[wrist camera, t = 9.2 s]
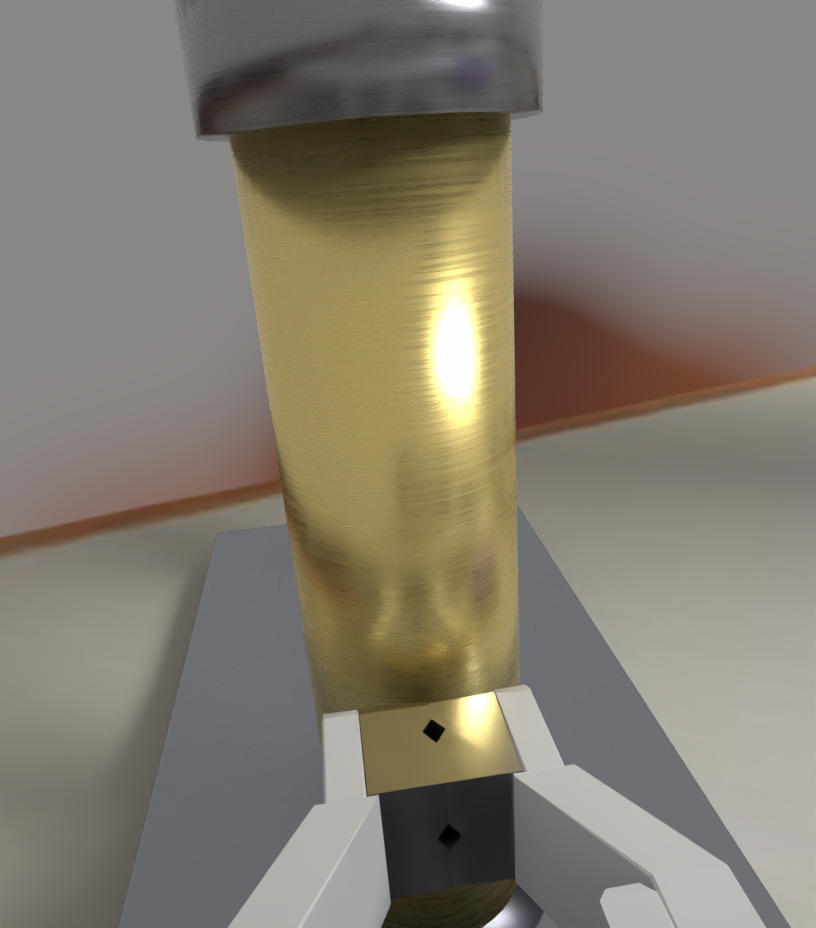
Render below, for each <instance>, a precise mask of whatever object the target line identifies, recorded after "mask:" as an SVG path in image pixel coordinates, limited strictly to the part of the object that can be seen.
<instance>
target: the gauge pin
mask: <svg viewBox="0 0 816 928" xmlns="http://www.w3.org/2000/svg"><path fill="white" fill-rule="evenodd" d="M173 1H174V8H175V14H176V20H177V26H178V32H179V38H180V44H181V50H182V56H183V62H184V68H185V74H186V80H187V86H188V92H189V98H190V103H191V110H192V116H193V122H194V128H195V134H196V138H197V139H198V140H204V141H217V142H230V145H231V152H232V158H233V165H234V172H235V178H236V185H237V192H238V198H239V205H240V212H241V219H242V225H243V232H244V238H245V245H246V251H247V259H248V265H249V272H250V279H251V285H252V292H253V299H254V305H255V312H256V319H257V325H258V332H259V338H260V345H261V352H262V359H263V365H264V372H265V378H266V385H267V392H268V399H269V405H270V412H271V419H272V424H273V432H274V438H275V445H276V452H277V458H278V465H279V472H280V479H281V485H282V492H283V499H284V505H285V512H286V519H287V526H288V532H289V539H290V546H291V552H292V559H293V566H294V572H295V579H296V586H297V592H298V599H299V606H300V612H301V619H302V626H303V632H304V639H305V646H306V652H307V659H308V666H309V672H310V679H311V686H312V692H313V699H314V706H315V712H316V719H317V726H318V732H319V739H320V746H321V752H322V759H323V748H322V718H323V714H328V713H336V712H344V711H352V710H358V714H359V709H363V708H372V707H380V706H388V705H396V704H405V703H413V702H421V701H429V700H436V699H442V698H449V697H456V696H462V695H469V694H475V693H482V692H488V691H493V690H496V689H502V688H508V687H514V686H520V663H519V602H518V541H517V480H516V424H515V423H516V419H515V361H514V359H515V358H514V298H513V240H512V239H513V238H512V175H511V120H515V119H521V118H526V117H531V116H535V115H538V114H541V113H542V112H543V0H173ZM359 721H360V717H359ZM360 729H361V728H360ZM517 886H518V884H517V883H516V882H515V879H508V880H501V881H493V882H486V883H479V884H472V885H465V886H458V887H451V888H446V889H441V890H436V891H431V892H426V893H421V894H416V895H411V896H407V897H402V898H397V899H392V900H391V905H390V907H389V910H388V912H387V915H386V917H385V919H384V922H383V924H382V926H381V928H482V927H484V926H485V925H486V924H488V923H489V922H491V921H492V920H493V919H494V918H495V917H496V916H497V915H498V914H499V913H500V912H501V911H502V910H503V909H504V908H505V907H506V905H507V904H508V903H509V901H510V900H511V898H512V896H513V894H514V893H515V891H516V888H517Z"/></svg>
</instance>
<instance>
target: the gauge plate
mask: <svg viewBox="0 0 816 928" xmlns="http://www.w3.org/2000/svg"><path fill="white" fill-rule="evenodd" d="M517 541H518V602H519V663H520V685H526V686H528V687H529V688H530V689H531V692H532V694H533V696H534V698H535V701H536V703H537V705H538V707H539V710H540V712H541V714H542V716H543V718H544V721H545V723H546V725H547V727H548V730H549V732H550V734H551V736H552V739H553V741H554V743H555V745H556V748H557V750H558V752H559V754H560V757H561V759H562V761H563V763H564V766H567V765H574V764H575V765H577V766H578V767H580V768H581V769H583V770H584V771H586V772H587V773H589V774H590V775H592V776H593V777H595V778H596V779H598V780H599V781H601V782H602V783H604V784H605V785H607V786H608V787H610V788H611V789H613V790H614V791H616V792H618V793H619V794H621V795H622V796H624V797H625V798H627V799H628V800H630V801H631V802H633V803H634V804H636V805H637V806H639V807H640V808H642V809H643V810H645V811H646V812H648V813H649V814H651V815H652V816H654V817H655V818H657V819H659V820H660V821H662V822H663V823H665V824H666V825H668V826H669V827H671V828H672V829H674V830H675V831H677V832H678V833H680V834H681V835H683V836H684V837H686V838H687V839H689V840H690V841H692V842H693V843H695V844H697V845H698V846H700V847H701V848H703V849H704V850H706V851H707V852H709V853H710V854H712V855H713V856H715V857H716V858H718V859H719V860H721V861H722V862H724V863H725V864H727V865H728V866H729V868H730V869H731V871H732V873H733V874H734V876H735V878H736V879H737V881H738V883H739V884H740V886H741V887H742V889H743V891H744V892H745V894H746V896H747V897H748V899H749V900H750V902H751V904H752V905H753V907H754V909H755V910H756V912H757V913H758V915H759V917H760V918H761V920H762V922H763V923H764V925H765V927H766V928H791V927H790V926H789V924H788V923H787V921H786V920H785V918H784V916H783V915H782V913H781V912H780V910H779V909H778V907H777V906H776V904H775V903H774V901H773V899H772V898H771V896H770V895H769V893H768V892H767V890H766V889H765V887H764V886H763V884H762V882H761V881H760V879H759V878H758V876H757V875H756V873H755V872H754V870H753V869H752V867H751V865H750V864H749V862H748V861H747V859H746V858H745V856H744V855H743V853H742V852H741V850H740V848H739V847H738V845H737V844H736V842H735V841H734V839H733V838H732V836H731V835H730V833H729V831H728V830H727V828H726V827H725V825H724V824H723V822H722V821H721V819H720V818H719V816H718V814H717V813H716V811H715V810H714V808H713V807H712V805H711V804H710V802H709V801H708V799H707V797H706V796H705V794H704V793H703V791H702V790H701V788H700V787H699V785H698V784H697V782H696V780H695V779H694V777H693V776H692V774H691V773H690V771H689V770H688V768H687V767H686V765H685V763H684V762H683V760H682V759H681V757H680V756H679V754H678V753H677V751H676V750H675V748H674V746H673V745H672V743H671V742H670V740H669V739H668V737H667V736H666V734H665V732H664V731H663V729H662V728H661V726H660V725H659V723H658V722H657V720H656V719H655V717H654V715H653V714H652V712H651V711H650V709H649V708H648V706H647V705H646V703H645V702H644V700H643V698H642V697H641V695H640V694H639V692H638V691H637V689H636V688H635V686H634V685H633V683H632V681H631V680H630V678H629V677H628V675H627V674H626V672H625V671H624V669H623V668H622V666H621V664H620V663H619V661H618V660H617V658H616V657H615V655H614V654H613V652H612V651H611V649H610V647H609V646H608V644H607V643H606V641H605V640H604V638H603V637H602V635H601V634H600V632H599V630H598V629H597V627H596V626H595V624H594V623H593V621H592V620H591V618H590V617H589V615H588V613H587V612H586V610H585V609H584V607H583V606H582V604H581V603H580V601H579V600H578V598H577V596H576V595H575V593H574V592H573V590H572V589H571V587H570V586H569V584H568V583H567V581H566V579H565V578H564V576H563V575H562V573H561V572H560V570H559V569H558V567H557V566H556V564H555V562H554V561H553V559H552V558H551V556H550V555H549V553H548V552H547V550H546V549H545V547H544V545H543V544H542V542H541V541H540V539H539V538H538V536H537V535H536V533H535V532H534V530H533V528H532V527H531V525H530V524H529V522H528V521H527V519H526V518H525V516H524V515H523V513H522V511H521V510H520V508H519V507H518V505H517ZM319 804H324V784H323V759H322V752H321V746H320V739H319V732H318V726H317V719H316V712H315V706H314V699H313V692H312V686H311V679H310V672H309V666H308V659H307V652H306V646H305V639H304V632H303V626H302V619H301V612H300V606H299V599H298V592H297V586H296V579H295V572H294V566H293V559H292V552H291V546H290V539H289V532H288V526H287V525H280V526H272V527H264V528H255V529H247V530H239V531H231V532H223V533H217V535H216V539H215V543H214V547H213V551H212V555H211V559H210V563H209V567H208V571H207V575H206V579H205V583H204V587H203V591H202V595H201V599H200V603H199V607H198V611H197V615H196V619H195V623H194V627H193V631H192V634H191V638H190V642H189V646H188V650H187V654H186V658H185V662H184V666H183V670H182V674H181V678H180V682H179V686H178V690H177V694H176V698H175V702H174V706H173V710H172V714H171V718H170V722H169V726H168V730H167V734H166V738H165V742H164V746H163V750H162V754H161V758H160V762H159V766H158V770H157V774H156V778H155V782H154V786H153V790H152V794H151V798H150V802H149V806H148V810H147V814H146V818H145V822H144V826H143V830H142V834H141V838H140V842H139V846H138V850H137V854H136V858H135V862H134V866H133V870H132V874H131V878H130V882H129V886H128V890H127V894H126V898H125V902H124V905H123V909H122V913H121V917H120V921H119V925H118V928H228V926H229V925H230V924H231V922H232V921H233V919H234V918H235V916H236V915H237V914H238V912H239V911H240V909H241V908H242V906H243V905H244V904H245V902H246V901H247V899H248V898H249V896H250V895H251V894H252V892H253V891H254V889H255V888H256V887H257V885H258V884H259V882H260V881H261V879H262V878H263V877H264V875H265V874H266V872H267V871H268V869H269V868H270V867H271V865H272V864H273V862H274V861H275V859H276V858H277V857H278V855H279V854H280V852H281V851H282V849H283V848H284V847H285V845H286V844H287V842H288V841H289V839H290V838H291V837H292V835H293V834H294V832H295V831H296V829H297V828H298V827H299V825H300V824H301V822H302V821H303V820H304V818H305V817H306V815H307V814H308V812H309V811H310V810H311V808H312V807H313V806H314V805H319ZM482 928H560V927H559V926H558V925H557V924H556V923H555V922H554V921H553V920H552V919H551V918H550V917H549V916H548V915H547V914H546V913H545V912H544V911H543V910H542V909H541V908H540V907H539V906H538V905H537V904H536V903H535V902H534V900H533V899H532V898H531V897H530V896H529V895H528V894H527V893H526V892H525V891H524V890H523V889H522V888H521V887H520V886H519V885H518V886H517V888H516V891H515V893H514V894H513V896H512V898H511V900H510V901H509V903H508V904H507V905H506V907H505V908H504V909H503V910H502V911H501V912H500V913H499V914H498V915H497V916H496V917H495V918H494V919H493V920H492V921H491V922H489V923H488V924H486V925H485V926H484V927H482Z"/></svg>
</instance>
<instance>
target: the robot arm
mask: <svg viewBox="0 0 816 928" xmlns="http://www.w3.org/2000/svg"><path fill="white" fill-rule="evenodd" d="M359 717H360V721H359ZM360 728H361V729H360ZM322 748H323V784H324V804H319V805H314V806H313V807H312V808H311V810H310V811H309V812H308V814H307V815H306V817H305V818H304V820H303V821H302V822H301V824H300V825H299V827H298V828H297V829H296V831H295V832H294V834H293V835H292V837H291V838H290V839H289V841H288V842H287V844H286V845H285V847H284V848H283V849H282V851H281V852H280V854H279V855H278V857H277V858H276V859H275V861H274V862H273V864H272V865H271V867H270V868H269V869H268V871H267V872H266V874H265V875H264V877H263V878H262V879H261V881H260V882H259V884H258V885H257V887H256V888H255V889H254V891H253V892H252V894H251V895H250V896H249V898H248V899H247V901H246V902H245V904H244V905H243V906H242V908H241V909H240V911H239V912H238V914H237V915H236V916H235V918H234V919H233V921H232V922H231V924H230V925H229V926H228V928H381V926H382V924H383V922H384V919H385V917H386V915H387V912H388V910H389V907H390V905H391V900H392V899H397V898H402V897H407V896H411V895H416V894H421V893H426V892H431V891H436V890H441V889H446V888H451V887H458V886H465V885H472V884H479V883H486V882H493V881H501V880H508V879H515V882H516V883H517V884H518V885H519V886H520V887H521V888H522V889H523V890H524V891H525V892H526V893H527V894H528V895H529V896H530V897H531V898H532V899H533V900H534V902H535V903H536V904H537V905H538V906H539V907H540V908H541V909H542V910H543V911H544V912H545V913H546V914H547V915H548V916H549V917H550V918H551V919H552V920H553V921H554V922H555V923H556V924H557V925H558V926H559V927H560V928H766V927H765V925H764V923H763V922H762V920H761V918H760V917H759V915H758V913H757V912H756V910H755V909H754V907H753V905H752V904H751V902H750V900H749V899H748V897H747V896H746V894H745V892H744V891H743V889H742V887H741V886H740V884H739V883H738V881H737V879H736V878H735V876H734V874H733V873H732V871H731V869H730V868H729V866H728V865H727V864H725V863H724V862H722V861H721V860H719V859H718V858H716V857H715V856H713V855H712V854H710V853H709V852H707V851H706V850H704V849H703V848H701V847H700V846H698V845H697V844H695V843H693V842H692V841H690V840H689V839H687V838H686V837H684V836H683V835H681V834H680V833H678V832H677V831H675V830H674V829H672V828H671V827H669V826H668V825H666V824H665V823H663V822H662V821H660V820H659V819H657V818H655V817H654V816H652V815H651V814H649V813H648V812H646V811H645V810H643V809H642V808H640V807H639V806H637V805H636V804H634V803H633V802H631V801H630V800H628V799H627V798H625V797H624V796H622V795H621V794H619V793H618V792H616V791H614V790H613V789H611V788H610V787H608V786H607V785H605V784H604V783H602V782H601V781H599V780H598V779H596V778H595V777H593V776H592V775H590V774H589V773H587V772H586V771H584V770H583V769H581V768H580V767H578V766H577V765H575V764H574V765H567V766H564V763H563V761H562V759H561V757H560V754H559V752H558V750H557V748H556V745H555V743H554V741H553V739H552V736H551V734H550V732H549V730H548V727H547V725H546V723H545V721H544V718H543V716H542V714H541V712H540V710H539V707H538V705H537V703H536V701H535V698H534V696H533V694H532V692H531V689H530V688H529V687H528V686H526V685H520V686H514V687H508V688H502V689H496V690H493V691H488V692H482V693H475V694H469V695H462V696H456V697H449V698H442V699H436V700H429V701H421V702H413V703H405V704H396V705H388V706H380V707H372V708H363V709H359V714H358V710H352V711H344V712H336V713H328V714H323V718H322Z"/></svg>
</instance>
